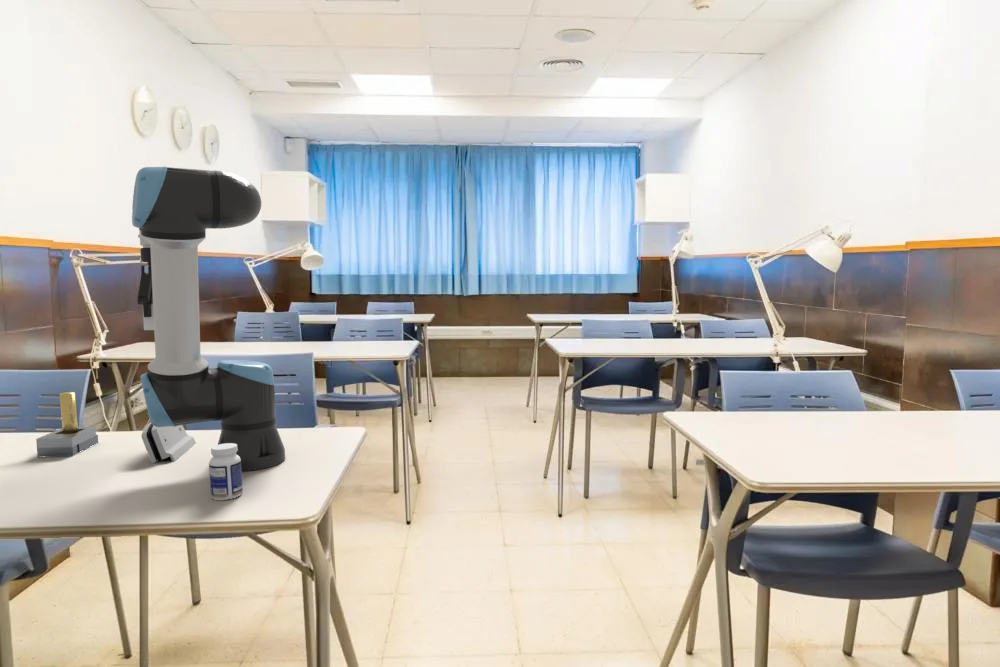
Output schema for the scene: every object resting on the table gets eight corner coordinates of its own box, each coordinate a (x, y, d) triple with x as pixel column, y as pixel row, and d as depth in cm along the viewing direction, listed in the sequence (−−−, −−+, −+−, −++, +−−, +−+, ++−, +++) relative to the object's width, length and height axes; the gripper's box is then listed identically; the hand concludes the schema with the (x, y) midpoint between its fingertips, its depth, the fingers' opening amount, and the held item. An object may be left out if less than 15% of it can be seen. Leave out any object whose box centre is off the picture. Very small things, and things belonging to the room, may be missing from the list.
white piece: (174, 461, 151) (156, 422, 149) (154, 469, 150) (135, 430, 149) (196, 442, 167) (180, 407, 166) (178, 449, 167) (161, 414, 165)
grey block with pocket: (65, 444, 167) (64, 427, 167) (98, 443, 168) (97, 426, 167) (37, 457, 156) (36, 438, 155) (73, 455, 156) (71, 437, 156)
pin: (74, 450, 161) (70, 394, 160) (61, 450, 161) (56, 394, 160) (81, 446, 165) (77, 391, 163) (68, 447, 164) (64, 392, 163)
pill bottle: (237, 489, 131) (234, 440, 130) (246, 496, 127) (244, 446, 126) (207, 495, 128) (204, 445, 127) (215, 503, 123) (213, 451, 122)
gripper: (161, 248, 184) (166, 323, 186) (118, 245, 159) (124, 332, 162) (189, 248, 185) (193, 323, 187) (150, 245, 160) (156, 331, 162)
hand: (161, 327), depth 174 cm, fingers open, 13 cm apart
